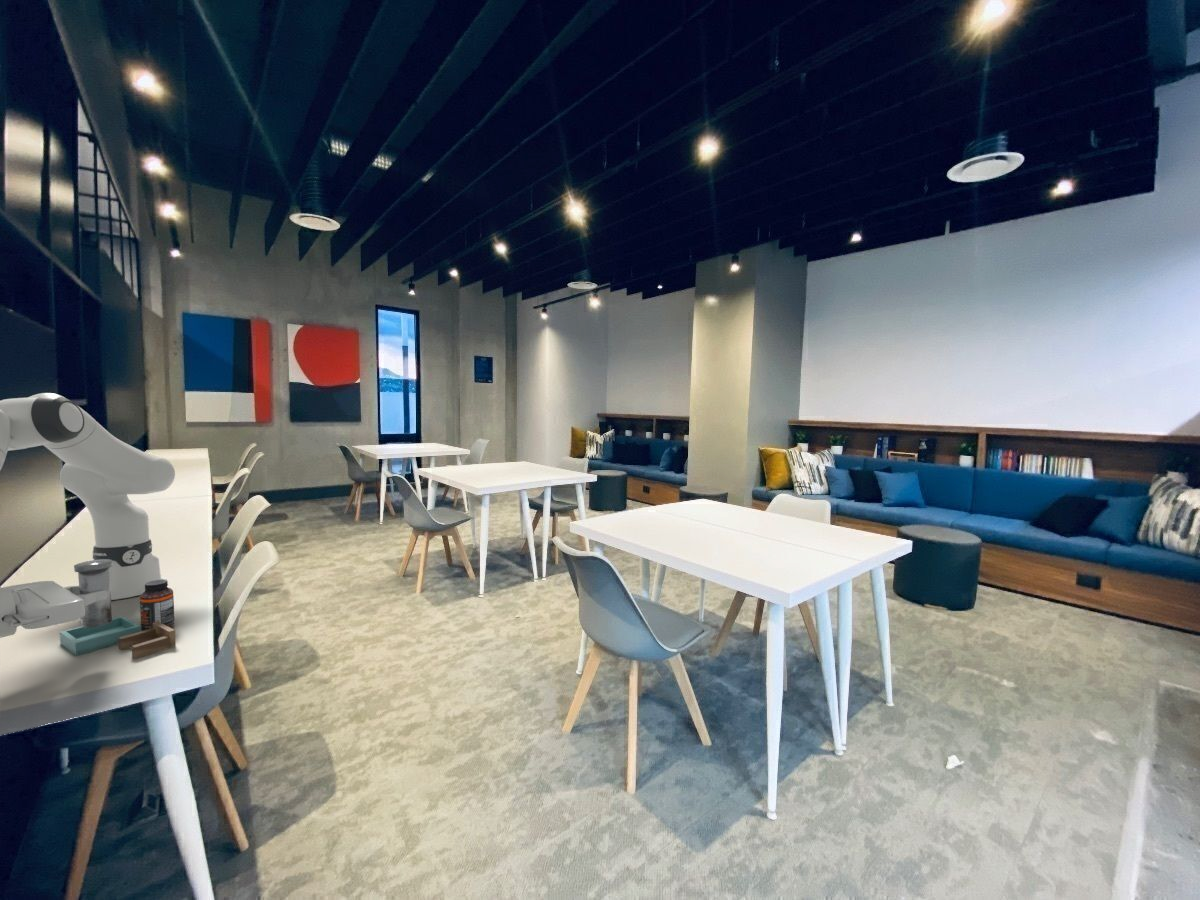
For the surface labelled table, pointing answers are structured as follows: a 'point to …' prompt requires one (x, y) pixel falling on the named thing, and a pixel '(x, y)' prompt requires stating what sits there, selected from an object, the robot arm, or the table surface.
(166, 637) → the bracket
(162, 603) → the supplement bottle
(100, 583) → the pin
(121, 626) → the tray
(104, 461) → the robot arm
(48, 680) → the table surface
